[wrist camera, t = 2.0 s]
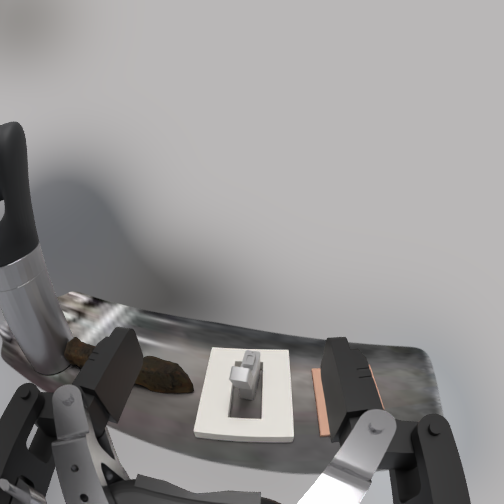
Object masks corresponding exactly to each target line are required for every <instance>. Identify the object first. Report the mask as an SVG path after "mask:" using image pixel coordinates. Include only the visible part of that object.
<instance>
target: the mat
mask: <svg viewBox="0 0 504 504" xmlns="http://www.w3.org/2000/svg"><path fill="white" fill-rule="evenodd" d="M369 369H370V370H371V368H370V365H369ZM371 373H372V370H371ZM312 377H313V384H314V391H315V399H316V407H317V414H318V422H319V431H320V437H323V436H330V431H329V424H328V417H327V411H326V405H325V398H324V392H323V386H322V381H321V368H317V369H312ZM372 378H373V379H374V376H373V373H372ZM374 382H375V379H374ZM375 385H376V382H375ZM376 388H377V385H376ZM377 391H378V388H377ZM378 394H379V391H378ZM379 397H380V394H379ZM380 400H381V398H380ZM381 403H382V401H381ZM382 406H383V404H382ZM383 408H384V407H383Z"/></svg>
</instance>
